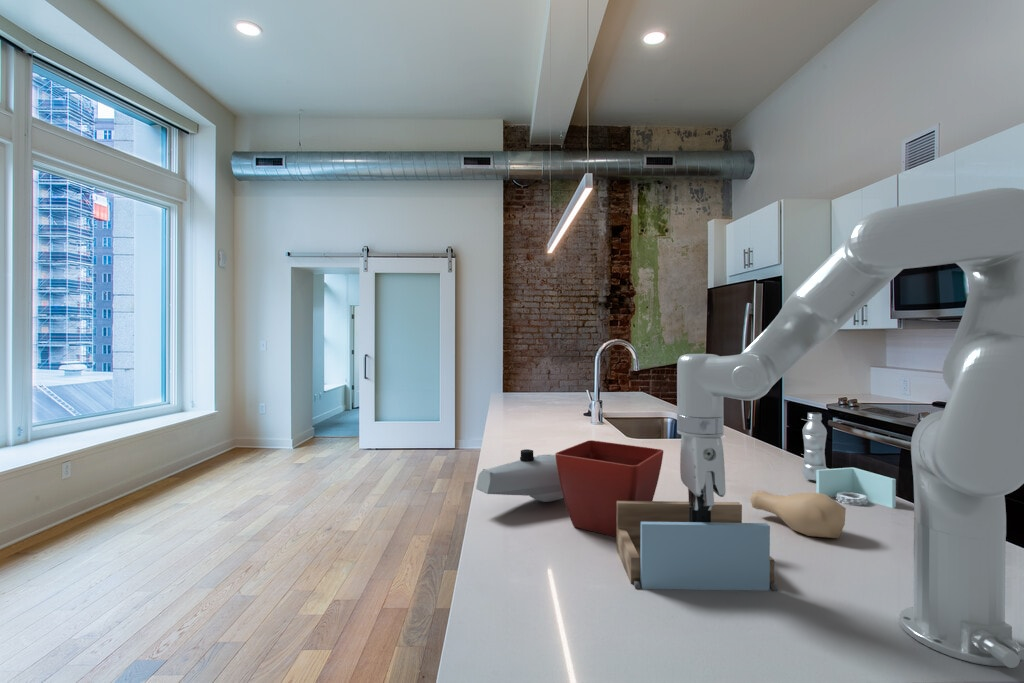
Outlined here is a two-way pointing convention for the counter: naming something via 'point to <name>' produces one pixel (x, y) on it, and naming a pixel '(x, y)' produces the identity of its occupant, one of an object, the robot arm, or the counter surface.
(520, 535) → the counter surface
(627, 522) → the box
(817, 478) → the l-shaped corner panel
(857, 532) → the counter surface
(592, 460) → the plant pot
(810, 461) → the plastic bottle
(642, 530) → the panel
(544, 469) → the street light
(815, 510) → the squash
